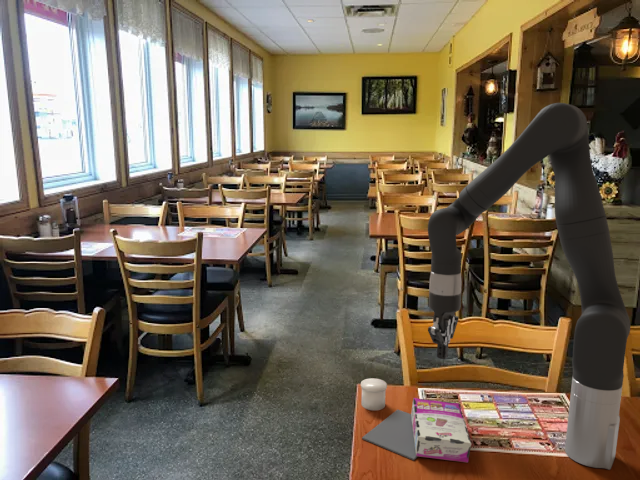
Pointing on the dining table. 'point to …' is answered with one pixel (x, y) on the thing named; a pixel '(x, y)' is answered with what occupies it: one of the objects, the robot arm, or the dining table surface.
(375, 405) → the sugar bowl
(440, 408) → the candy bar box
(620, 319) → the robot arm
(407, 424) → the mat
